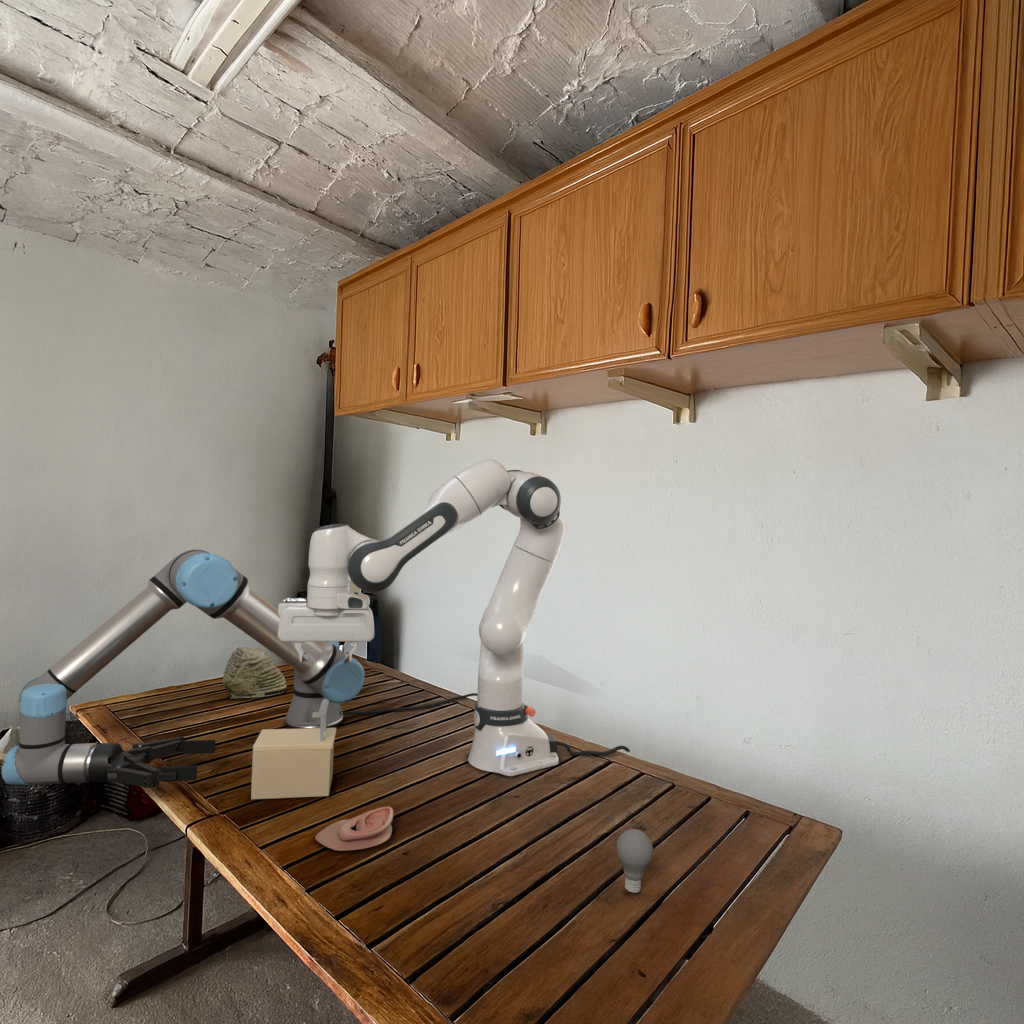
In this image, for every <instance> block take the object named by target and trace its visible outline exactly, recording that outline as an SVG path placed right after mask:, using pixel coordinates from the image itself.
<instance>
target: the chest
mask: <svg viewBox="0 0 1024 1024" xmlns="http://www.w3.org/2000/svg"><path fill="white" fill-rule="evenodd" d="M334 751H335V744H334V745H333V749H314V750H281V751H253V750H252V760H251V761H252V765H251V790H250V791H251V792H250V800H269V799H291V798H293V799H294V798H309V797H311V798H313V797H317V798H318V797H329V796H330V792H331V788H332V787H331V786H332V781H333V778H334V777H333V774H334Z"/></svg>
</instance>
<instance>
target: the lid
mask: <svg viewBox="0 0 1024 1024" xmlns="http://www.w3.org/2000/svg"><path fill="white" fill-rule="evenodd" d="M328 705H329V700H328V699H323V700H322V703H321V706H320V709H319V714H320V715H321V724H320V728H304V729H289V728H271V729H270V728H269V729H268V728H267V729H264V728H263V729H261V731H260V732H259V734H258V737H257V738H256V739H255V742H254V744H253V745H252V752H253V751H281V750H314V749H333V745H334V746H335V740H336V735H337V727H335V728H326V715H327V709H328Z"/></svg>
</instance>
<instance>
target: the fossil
mask: <svg viewBox="0 0 1024 1024" xmlns="http://www.w3.org/2000/svg"><path fill="white" fill-rule="evenodd" d="M222 676H223V677H222V685H223V687H224V688H225V690H226V691H228V693H229V698H230V699H250V698H264V697H271V696H275V695H281V694H284V693H285V691H286V689H287V687H288V686H287V680H286V678H285V676H284V674H283V673H282V672H281V669H279V668H278V667H277V665H276V663H275V662H274V660H273V659H272V658H271V657H270V656H269V655H268V654H267V653H266V652H265V650H264V649H263V648H260V647H258V648H251V647H247V646H246V647H245V646H238V647H237V648H236V649H235V650H233V651H232V653H231V656H230V657H229V659H228V660H227V663H226V666H225V668H224V671H223V675H222Z"/></svg>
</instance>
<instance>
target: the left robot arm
mask: <svg viewBox="0 0 1024 1024" xmlns="http://www.w3.org/2000/svg"><path fill="white" fill-rule="evenodd" d="M187 603H188V604H190V605H192V606H194V607H196V608H197V609H199V610H200V611H201V612H203V613H204V614H206V615H207V616H209V618H212V620H216V619H222V618H223V619H225V620H226V621H228V622H229V623H230V624H232V625H233V626H235V627H236V628H237V629H239V631H242V632H243V633H245V634H246V635H247V636H249V637H250V638H252V639H253V640H254V641H256V642H257V643H258V644H260V645H261V646H263V647H264V648H266V649H267V651H268V650H269V652H271V653H272V654H274V655H275V656H276V657H278V658H279V659H280V660H282V661H283V662H285V663H286V664H287V665H290V666H291V667H292V668H294V672H293V695H292V696H293V697H292V699H291V702H290V704H289V708H288V711H287V713H286V715H285V726H286V728H287V729H304V728H320V724H321V715H320V714H319V709H320V706H321V703H322V700H323V699H328V700H329V705H328V709H327V715H326V728H337V727H339V726H340V725H342V723H343V722H344V715H372V714H373V715H374V714H382V713H389V712H397V711H410V710H420V709H426V708H431V707H434V706H438V705H443V704H445V703H449V702H452V701H455V700H460V699H465V698H468V697H477V693H478V692H477V693H476V692H473V693H467V694H463V695H457V696H453V697H450V698H448V699H444V700H441V701H437V702H433V703H428V704H423V705H416V706H405V707H392V708H386V709H378V710H369V711H364V710H363V711H361V710H360V711H357V710H353V711H352V710H351V711H343V709H342V706H341V704H344V703H347V702H350V701H351V700H353V699H355V698H356V696H358V694H359V693H360V691H361V690H362V688H363V686H364V683H365V670H364V667H363V665H362V664H361V663H360V662H359V660H357V659H356V658H354V657H352V662H345V653H346V652H344V651H343V650H341V649H340V647H341V646H340V642H303V644H302V646H301V648H302V650H303V651H304V652H308V656H307V657H308V659H307V662H300V654H299V653H298V651H297V650H296V648H295V642H281V641H280V640H279V638H278V627H279V622H280V617H279V616H278V608H276V607H275V606H273V605H272V604H271V603H269V602H268V601H266V600H265V599H264V598H263V597H261V596H260V595H259V594H257V593H256V592H255V591H253V590H252V589H251V588H250V580H249V578H248V577H246V576H245V575H244V574H242V573H241V572H240V571H238V570H237V569H236V568H235V567H234V566H233V565H232V563H231V562H230V561H229V560H228V559H226V558H225V557H223V556H221V555H218V554H216V553H211V552H209V551H206V550H203V549H190V550H186V551H184V552H181V553H179V554H178V555H176V556H175V557H173V558H172V559H171V560H170V561H169V562H168V563H166V564H165V565H164V566H163V567H162V568H161V569H160V570H159V571H157V572H156V573H155V574H154V575H153V576H152V577H150V578H149V579H148V581H147V586H146V587H145V589H144V590H142V591H141V592H140V593H138V594H137V595H136V596H135V597H133V598H132V599H131V600H130V601H129V602H128V603H126V604H125V605H124V606H123V607H121V609H119V610H118V611H116V612H115V614H113V615H112V616H111V617H110V618H108V619H107V620H106V621H105V622H104V623H102V624H101V625H100V626H99V627H98V628H96V629H95V630H94V631H93V632H92V633H91V634H89V635H88V636H86V638H85V639H83V640H82V641H81V642H79V643H78V644H77V645H76V646H75V647H74V648H72V649H71V650H70V651H69V652H67V653H66V654H65V655H64V656H63V657H61V659H59V660H58V661H57V662H55V663H54V664H53V665H52V666H51V667H50V668H49V669H48V670H46V671H44V672H43V673H42V674H41V675H40V676H35V677H33V678H31V679H30V680H28V681H27V682H26V683H25V684H24V685H23V686H22V688H21V690H20V692H19V696H18V704H19V706H18V708H19V710H18V711H19V741H18V745H15V746H13V747H11V748H10V749H9V750H8V751H7V753H6V755H5V756H4V759H3V763H2V764H3V765H2V766H1V777H2V779H3V781H4V783H6V784H7V785H10V786H28V787H31V786H41V785H59V784H60V785H61V784H64V785H65V784H75V785H77V786H80V785H82V784H84V783H91V782H92V783H120V784H123V785H124V784H125V785H129V786H135V787H139V788H144V789H150V788H158V787H159V786H160V782H161V783H163V782H164V783H165V782H166V783H167V782H189V781H196V780H197V779H198V765H197V764H195V765H173V766H171V765H170V766H161V767H160V768H157V767H155V766H152V765H149V764H151V763H152V762H153V761H154V760H158V759H162V758H166V757H169V756H173V755H176V754H180V753H181V755H197V754H199V755H200V754H215V752H216V739H194V740H192V739H191V740H190V739H189V740H185V736H184V735H180V736H177V737H171V738H165V739H164V738H163V739H159V740H153V741H148V742H147V741H146V742H138V743H137V742H136V743H133V744H132V748H130V749H126V750H124V749H123V748H122V745H121V744H120V743H118V742H101V743H99V744H98V743H97V742H91V743H87V742H86V743H66V720H67V705H68V700H69V699H70V698H71V697H72V696H73V695H74V694H75V693H76V692H78V691H79V690H80V689H81V688H82V687H83V686H84V685H86V684H87V683H88V682H89V681H90V680H91V679H93V678H94V677H95V676H96V675H97V674H98V673H100V672H101V671H102V670H103V669H105V667H107V666H108V665H109V664H110V663H111V662H113V660H115V659H116V658H117V657H118V656H119V655H121V653H123V652H124V651H125V650H126V649H127V648H129V646H131V645H132V644H133V643H135V642H136V641H137V640H138V639H139V638H140V637H142V636H143V635H144V634H146V632H147V631H148V630H150V629H151V628H152V627H153V626H154V625H155V624H157V623H158V622H159V621H160V620H162V619H163V617H165V616H166V615H167V614H168V613H169V612H171V611H172V610H179V609H180V608H182V607H183V606H184V605H185V604H187Z"/></svg>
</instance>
